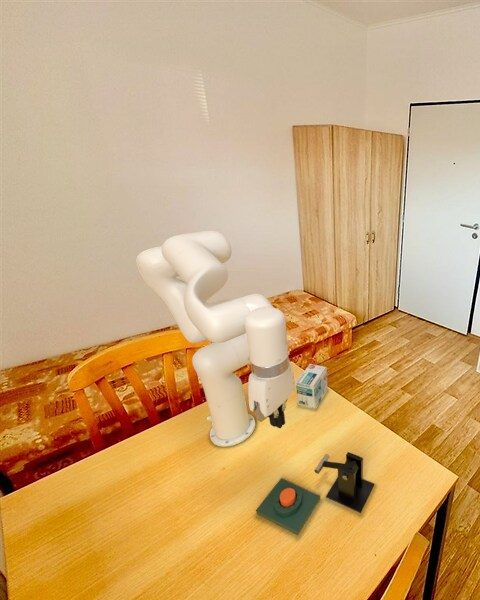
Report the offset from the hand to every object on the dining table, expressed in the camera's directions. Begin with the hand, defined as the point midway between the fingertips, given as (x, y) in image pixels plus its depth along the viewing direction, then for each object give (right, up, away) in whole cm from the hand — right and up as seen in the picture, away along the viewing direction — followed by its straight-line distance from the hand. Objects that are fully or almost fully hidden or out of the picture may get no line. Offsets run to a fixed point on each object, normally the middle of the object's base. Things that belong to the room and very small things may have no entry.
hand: (277, 423), depth 76 cm
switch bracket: (+16, -21, +7) cm, 28 cm away
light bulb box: (-2, -5, +37) cm, 38 cm away
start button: (+2, -19, +1) cm, 19 cm away
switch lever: (+14, -14, +5) cm, 20 cm away
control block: (+2, -22, +3) cm, 22 cm away
